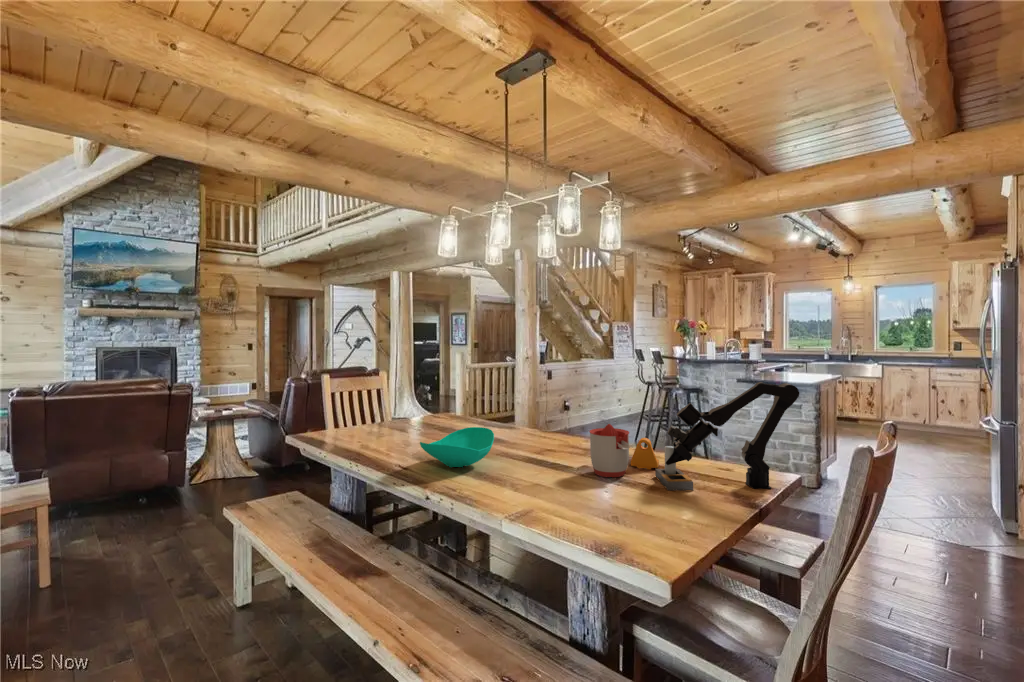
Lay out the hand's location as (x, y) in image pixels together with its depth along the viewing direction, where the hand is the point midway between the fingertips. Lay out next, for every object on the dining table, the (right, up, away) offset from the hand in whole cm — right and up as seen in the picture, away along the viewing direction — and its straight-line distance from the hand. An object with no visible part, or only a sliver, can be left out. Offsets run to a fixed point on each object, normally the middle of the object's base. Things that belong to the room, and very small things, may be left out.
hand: (666, 462), depth 179 cm
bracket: (-3, -7, +19) cm, 21 cm away
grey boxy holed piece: (+1, -7, -4) cm, 8 cm away
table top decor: (-82, -8, +24) cm, 85 cm away
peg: (+1, -7, 0) cm, 7 cm away
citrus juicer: (-19, -7, +8) cm, 22 cm away
